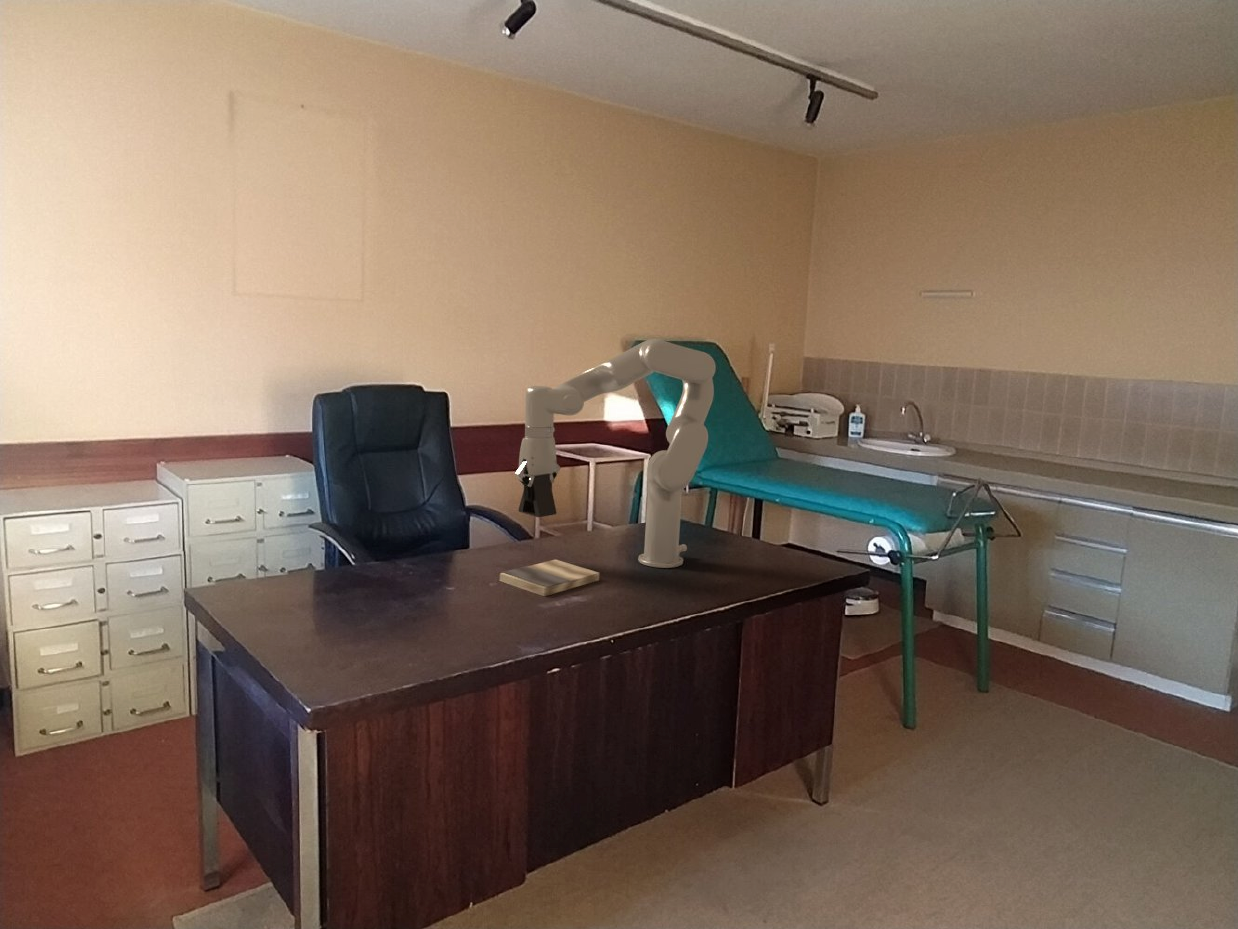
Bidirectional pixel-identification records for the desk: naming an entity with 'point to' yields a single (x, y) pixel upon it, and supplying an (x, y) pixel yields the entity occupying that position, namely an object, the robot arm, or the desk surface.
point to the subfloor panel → (549, 577)
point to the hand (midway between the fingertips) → (537, 498)
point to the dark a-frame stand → (539, 498)
